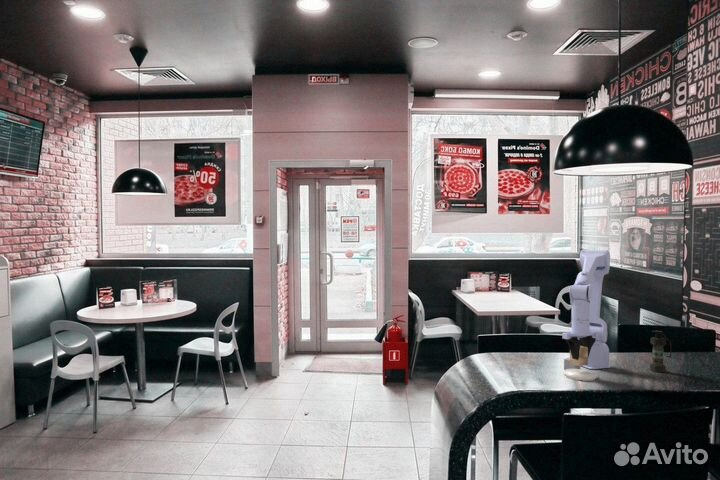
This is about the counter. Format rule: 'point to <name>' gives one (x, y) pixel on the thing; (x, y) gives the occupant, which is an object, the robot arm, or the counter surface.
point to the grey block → (568, 365)
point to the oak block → (580, 357)
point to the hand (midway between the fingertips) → (580, 358)
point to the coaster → (580, 374)
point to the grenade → (658, 351)
